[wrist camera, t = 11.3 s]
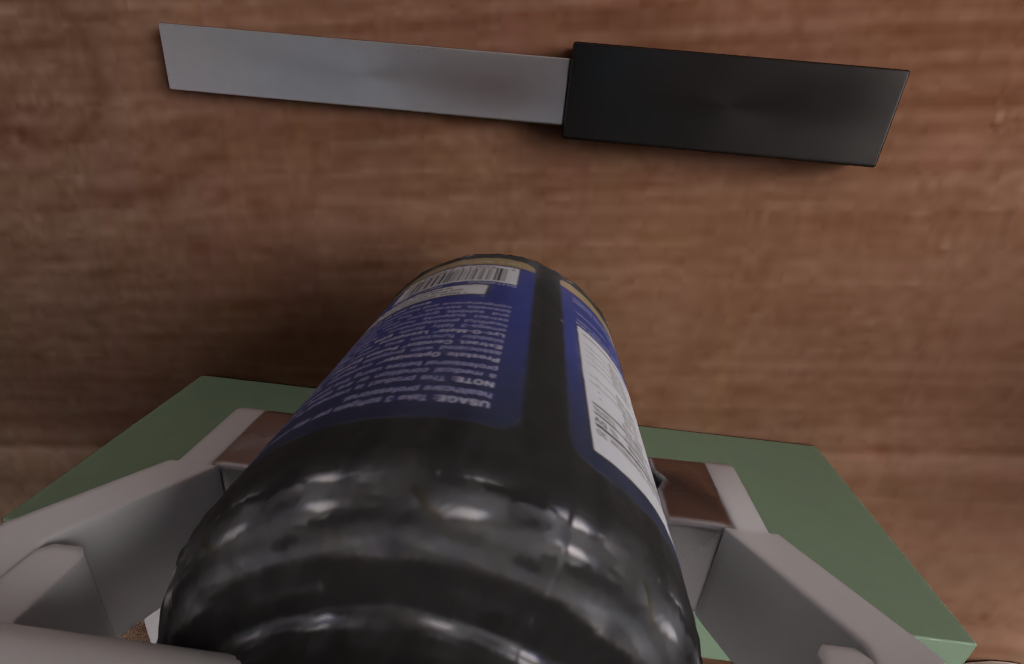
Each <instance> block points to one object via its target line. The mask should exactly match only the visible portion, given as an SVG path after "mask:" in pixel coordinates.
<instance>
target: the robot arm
mask: <svg viewBox="0 0 1024 664" xmlns="http://www.w3.org/2000/svg"><path fill="white" fill-rule="evenodd" d="M292 416H293V414H291V413H284V412H277V411H267V410H262V409H253V408H245V407H244V408H240V409H236V410H235V411H234V412H233V413H232V414H230V415H229V416H228V417H227V418H226V419H225V420H224V421H223V422H221V423H220V424H219V425H218V426H217V427H216V428H215V429H214V430H212V431H211V432H210V433H209V434H208V435H207V436H206V437H205V438H203V439H202V440H201V441H200V442H199V443H198V444H197V445H196V446H194V447H193V448H192V449H191V450H190V451H189V452H188V453H187V454H185V455H184V456H183V457H182V458H181V459H180V460H179V461H178V460H167V461H165V462H162V463H159V464H157V465H154V466H151V467H149V468H146V469H144V470H141V471H138V472H136V473H133V474H130V475H128V476H125V477H122V478H120V479H117V480H115V481H112V482H109V483H107V484H104V485H101V486H99V487H96V488H94V489H91V490H88V491H86V492H83V493H80V494H78V495H75V496H73V497H70V498H67V499H65V500H62V501H59V502H57V503H54V504H52V505H49V506H46V507H44V508H41V509H38V510H36V511H33V512H31V513H28V514H25V515H23V516H20V517H17V518H15V519H12V520H10V521H7V522H4V523H2V524H0V664H241V662H240V661H239V660H236V656H234V655H231V654H229V653H222V652H215V651H208V650H200V649H193V648H186V647H179V646H171V645H164V644H157V643H150V642H142V641H135V640H128V639H121V638H118V637H119V636H121V635H122V634H124V633H125V632H126V631H128V630H129V629H131V628H132V627H134V626H135V625H136V624H138V623H139V622H141V621H142V620H144V619H145V618H147V617H148V616H149V615H151V614H152V613H154V612H155V611H157V610H158V609H159V608H161V605H162V602H163V599H164V596H165V593H166V591H167V588H168V586H169V583H170V580H171V577H172V575H173V570H174V568H175V565H176V562H177V558H178V555H179V553H180V551H181V549H182V548H183V547H184V546H185V545H186V544H187V543H188V541H189V538H190V536H191V534H192V532H193V531H194V530H195V528H196V527H197V526H198V524H199V523H200V521H201V520H202V518H203V517H204V515H205V513H206V512H207V511H208V510H209V509H210V508H211V507H212V506H214V504H215V503H216V502H217V501H218V500H219V499H220V498H221V497H222V495H223V494H224V493H225V492H226V491H227V489H228V488H229V486H230V485H231V484H232V483H233V482H234V481H235V480H236V479H237V478H238V477H239V476H240V475H241V473H242V472H243V471H244V470H245V469H246V468H247V467H248V466H249V465H250V463H251V462H252V461H253V460H254V459H255V458H256V457H257V456H258V454H259V453H260V452H261V451H262V450H263V449H264V448H265V446H266V445H267V444H268V443H269V442H270V441H271V440H272V438H273V437H274V436H275V435H276V434H277V433H278V432H279V430H280V429H281V428H282V427H283V426H284V425H285V424H286V422H287V421H288V420H289V419H290V418H291V417H292ZM647 458H648V462H649V465H650V468H651V472H652V475H653V479H654V482H655V486H656V489H657V492H658V495H659V497H660V502H661V506H662V509H663V512H664V514H665V518H666V522H667V526H668V530H669V533H670V536H671V539H672V541H673V545H674V549H675V552H676V555H677V558H678V561H679V564H680V567H681V571H682V575H683V580H684V583H685V586H686V590H687V594H688V598H689V601H690V604H691V608H692V611H693V612H696V613H695V615H696V617H697V618H698V619H699V621H700V622H701V623H702V624H703V626H704V627H705V628H706V630H707V631H708V632H709V633H710V635H711V636H712V637H713V638H714V640H715V641H716V642H717V644H718V645H719V646H720V647H721V649H722V650H723V651H724V653H725V654H726V655H727V656H728V658H729V659H730V660H731V661H732V663H733V664H946V663H945V662H944V660H943V659H942V658H941V657H940V656H939V655H937V654H936V653H935V652H933V651H932V650H931V649H929V648H928V647H927V646H925V645H924V644H923V643H921V642H920V641H919V640H917V639H916V638H915V637H914V636H912V635H911V634H910V633H908V632H907V631H906V630H904V629H903V628H902V627H900V626H899V625H898V624H896V623H895V622H894V621H892V620H891V619H890V618H888V617H887V616H886V615H884V614H883V613H882V612H880V611H879V610H878V609H876V608H875V607H874V606H872V605H871V604H870V603H869V602H867V601H866V600H865V599H863V598H862V597H861V596H859V595H858V594H857V593H855V592H854V591H853V590H851V589H850V588H849V587H847V586H846V585H845V584H843V583H842V582H841V581H839V580H838V579H837V578H835V577H834V576H833V575H831V574H830V573H829V572H827V571H826V570H825V569H824V568H822V567H821V566H820V565H818V564H817V563H816V562H814V561H813V560H812V559H810V558H809V557H808V556H806V555H805V554H804V553H802V552H801V551H800V550H798V549H797V548H796V547H794V546H793V545H792V544H790V543H789V542H788V541H786V540H785V539H784V538H782V537H781V536H780V535H779V534H771V533H769V532H768V530H767V528H766V527H765V525H764V523H763V521H762V519H761V517H760V515H759V514H758V512H757V510H756V508H755V506H754V504H753V502H752V501H751V499H750V497H749V495H748V493H747V491H746V489H745V488H744V486H743V484H742V482H741V480H740V478H739V476H738V475H737V473H736V471H735V469H734V468H733V467H732V466H731V465H729V464H721V463H710V462H691V461H682V460H673V459H664V458H655V457H647Z"/></svg>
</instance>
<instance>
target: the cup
mask: <svg viewBox="0 0 1024 664" xmlns="http://www.w3.org/2000/svg"><path fill="white" fill-rule="evenodd" d="M964 664H1017V663H1011V662H1000V661H983V662H968V663H964Z"/></svg>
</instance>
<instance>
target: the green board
mask: <svg viewBox="0 0 1024 664" xmlns="http://www.w3.org/2000/svg"><path fill="white" fill-rule="evenodd" d="M314 391H315V388H307V387H298V386H289V385H281V384H272V383H264V382H255V381H246V380H238V379H229V378H220V377H212V376H201V377H199V378H198V379H196V380H195V381H194V382H192V383H191V384H189V385H188V386H187V387H185V388H184V389H182V390H181V391H180V392H178V393H177V394H175V395H174V396H173V397H171V398H170V399H168V400H167V401H166V402H164V403H163V404H162V405H160V406H159V407H157V408H156V409H155V410H153V411H152V412H150V413H149V414H148V415H146V416H145V417H143V418H142V419H141V420H139V421H138V422H136V423H135V424H134V425H132V426H131V427H129V428H128V429H127V430H125V431H124V432H122V433H121V434H120V435H118V436H117V437H115V438H114V439H113V440H111V441H110V442H108V443H107V444H106V445H104V446H103V447H101V448H100V449H99V450H97V451H96V452H94V453H93V454H92V455H90V456H89V457H87V458H86V459H85V460H83V461H82V462H81V463H79V464H78V465H76V466H75V467H74V468H72V469H71V470H69V471H68V472H67V473H65V474H64V475H62V476H61V477H60V478H58V479H57V480H55V481H54V482H53V483H51V484H50V485H48V486H47V487H46V488H44V489H43V490H41V491H40V492H39V493H37V494H36V495H34V496H33V497H32V498H30V499H29V500H27V501H26V502H25V503H23V504H22V505H20V506H19V507H18V508H16V509H15V510H13V511H12V512H11V513H9V514H8V515H6V516H5V517H4V518H3V521H4V522H7V521H10V520H12V519H15V518H17V517H20V516H23V515H25V514H28V513H31V512H33V511H36V510H38V509H41V508H44V507H46V506H49V505H52V504H54V503H57V502H59V501H62V500H65V499H67V498H70V497H73V496H75V495H78V494H80V493H83V492H86V491H88V490H91V489H94V488H96V487H99V486H101V485H104V484H107V483H109V482H112V481H115V480H117V479H120V478H122V477H125V476H128V475H130V474H133V473H136V472H138V471H141V470H144V469H146V468H149V467H151V466H154V465H157V464H159V463H162V462H165V461H167V460H178V461H179V460H180V459H181V458H182V457H183V456H184V455H185V454H187V453H188V452H189V451H190V450H191V449H192V448H193V447H194V446H196V445H197V444H198V443H199V442H200V441H201V440H202V439H203V438H205V437H206V436H207V435H208V434H209V433H210V432H211V431H212V430H214V429H215V428H216V427H217V426H218V425H219V424H220V423H221V422H223V421H224V420H225V419H226V418H227V417H228V416H229V415H230V414H232V413H233V412H234V411H235V410H236V409H240V408H244V407H245V408H253V409H262V410H267V411H277V412H284V413H291V414H294V413H295V412H296V411H297V410H298V409H299V408H300V406H301V405H302V404H303V403H304V402H305V401H306V400H307V399H308V397H309V396H310V395H311V394H312V393H313V392H314ZM638 428H639V431H640V435H641V438H642V442H643V445H644V448H645V452H646V455H647V457H655V458H664V459H673V460H682V461H691V462H710V463H721V464H729V465H731V466H732V467H733V468H734V469H735V471H736V473H737V475H738V476H739V478H740V480H741V482H742V484H743V486H744V488H745V489H746V491H747V493H748V495H749V497H750V499H751V501H752V502H753V504H754V506H755V508H756V510H757V512H758V514H759V515H760V517H761V519H762V521H763V523H764V525H765V527H766V528H767V530H768V532H769V533H771V534H779V535H780V536H781V537H782V538H784V539H785V540H786V541H788V542H789V543H790V544H792V545H793V546H794V547H796V548H797V549H798V550H800V551H801V552H802V553H804V554H805V555H806V556H808V557H809V558H810V559H812V560H813V561H814V562H816V563H817V564H818V565H820V566H821V567H822V568H824V569H825V570H826V571H827V572H829V573H830V574H831V575H833V576H834V577H835V578H837V579H838V580H839V581H841V582H842V583H843V584H845V585H846V586H847V587H849V588H850V589H851V590H853V591H854V592H855V593H857V594H858V595H859V596H861V597H862V598H863V599H865V600H866V601H867V602H869V603H870V604H871V605H872V606H874V607H875V608H876V609H878V610H879V611H880V612H882V613H883V614H884V615H886V616H887V617H888V618H890V619H891V620H892V621H894V622H895V623H896V624H898V625H899V626H900V627H902V628H903V629H904V630H906V631H907V632H908V633H910V634H911V635H912V636H914V637H915V638H916V639H917V640H919V641H920V642H921V643H923V644H924V645H925V646H927V647H928V648H929V649H931V650H932V651H933V652H935V653H936V654H937V655H939V656H940V657H941V658H942V659H943V660H944V662H945V663H946V664H964V662H965V661H966V660H967V658H968V657H969V655H970V654H971V653H972V651H973V650H974V648H975V647H976V643H975V641H974V640H973V639H972V638H971V636H970V635H969V634H968V633H967V632H966V630H965V629H964V628H963V627H962V625H961V624H960V623H959V622H958V621H957V619H956V618H955V617H954V616H953V614H952V613H951V612H950V611H949V609H948V608H947V607H946V606H945V605H944V603H943V602H942V601H941V600H940V598H939V597H938V596H937V595H936V593H935V592H934V591H933V590H932V589H931V587H930V586H929V585H928V584H927V582H926V581H925V580H924V579H923V578H922V576H921V575H920V574H919V573H918V571H917V570H916V569H915V568H914V566H913V565H912V564H911V563H910V562H909V560H908V559H907V558H906V557H905V555H904V554H903V553H902V552H901V551H900V549H899V548H898V547H897V546H896V544H895V543H894V542H893V541H892V539H891V538H890V537H889V536H888V535H887V533H886V532H885V531H884V530H883V528H882V527H881V526H880V525H879V523H878V522H877V521H876V520H875V519H874V517H873V516H872V515H871V514H870V512H869V511H868V510H867V509H866V508H865V506H864V505H863V504H862V503H861V501H860V500H859V499H858V498H857V496H856V495H855V494H854V493H853V492H852V490H851V489H850V488H849V487H848V485H847V484H846V483H845V482H844V480H843V479H842V478H841V477H840V476H839V474H838V473H837V472H836V471H835V469H834V468H833V467H832V466H831V465H830V463H829V462H828V461H827V460H826V458H825V457H824V456H823V455H822V453H821V452H820V451H819V450H818V449H817V447H815V446H808V445H799V444H791V443H782V442H773V441H765V440H756V439H748V438H739V437H730V436H722V435H713V434H704V433H696V432H687V431H678V430H670V429H661V428H652V427H644V426H638ZM695 613H696V612H693V614H694V617H695V623H696V628H697V632H698V635H699V638H700V647H701V657H703V658H710V659H718V660H725V661H731V660H730V659H729V658H728V656H727V655H726V654H725V653H724V651H723V650H722V649H721V647H720V646H719V645H718V644H717V642H716V641H715V640H714V638H713V637H712V636H711V635H710V633H709V632H708V631H707V630H706V628H705V627H704V626H703V624H702V623H701V622H700V621H699V619H698V618H697V617H696V615H695Z"/></svg>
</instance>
